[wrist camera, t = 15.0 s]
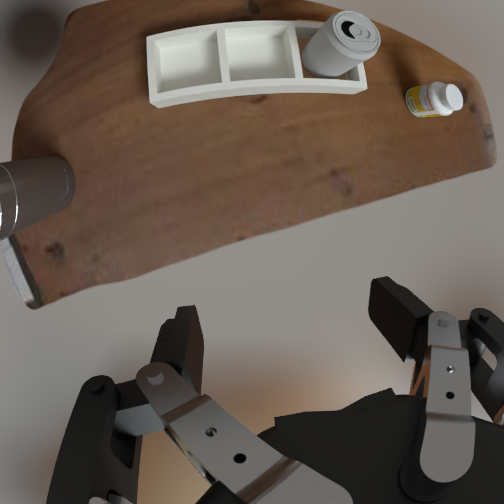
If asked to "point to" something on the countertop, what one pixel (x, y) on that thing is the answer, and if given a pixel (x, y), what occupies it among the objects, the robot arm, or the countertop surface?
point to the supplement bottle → (434, 99)
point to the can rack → (238, 62)
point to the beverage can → (341, 45)
